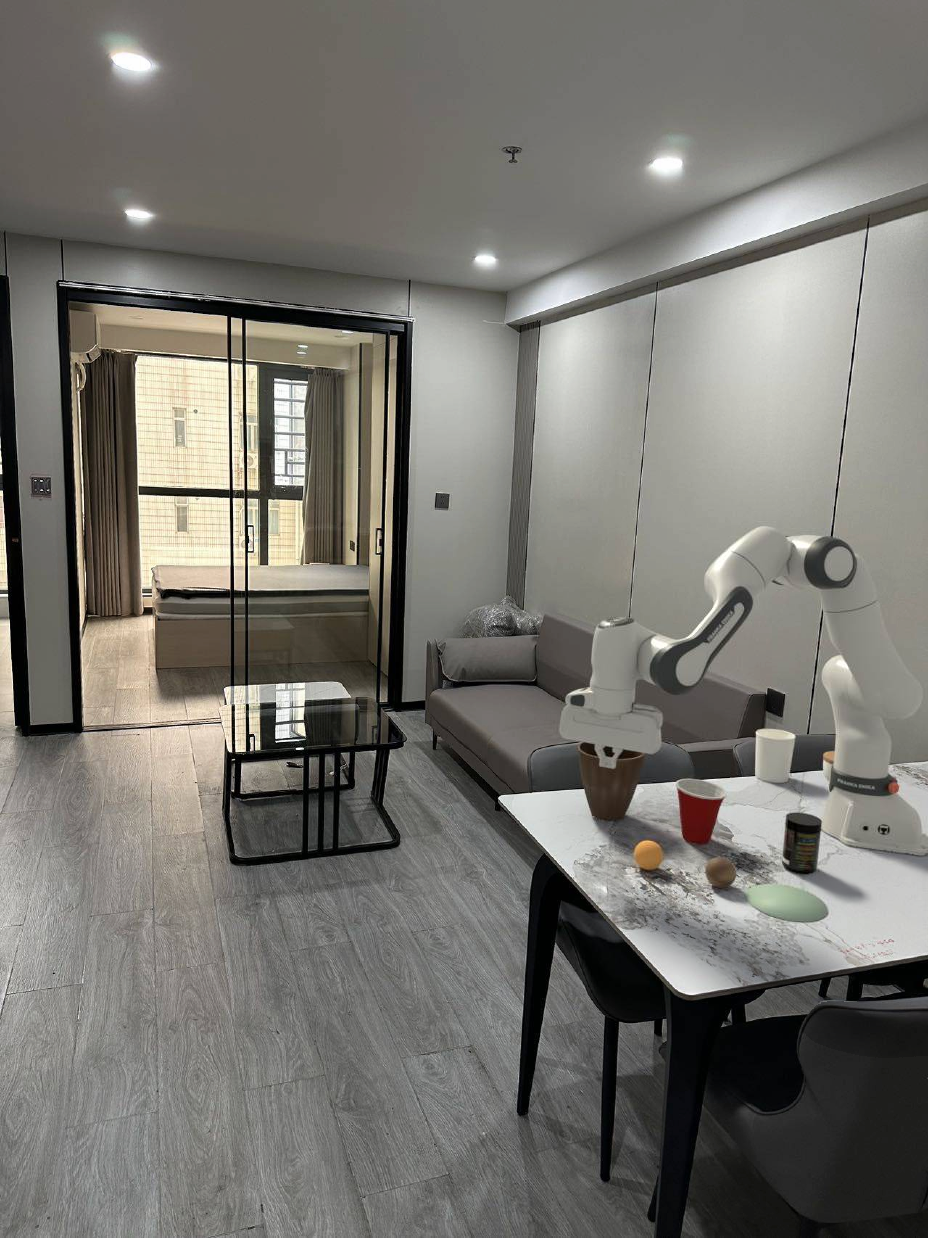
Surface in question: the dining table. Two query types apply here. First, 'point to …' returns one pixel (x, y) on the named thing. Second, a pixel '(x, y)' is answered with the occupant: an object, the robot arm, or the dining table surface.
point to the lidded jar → (828, 763)
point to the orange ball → (648, 855)
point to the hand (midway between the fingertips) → (607, 766)
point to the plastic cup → (699, 808)
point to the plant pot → (609, 781)
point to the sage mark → (786, 902)
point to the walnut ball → (720, 872)
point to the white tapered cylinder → (773, 755)
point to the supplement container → (801, 843)
